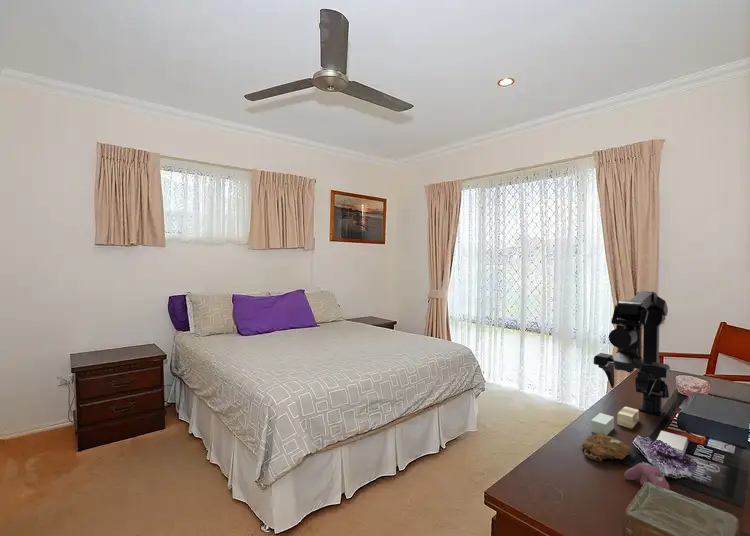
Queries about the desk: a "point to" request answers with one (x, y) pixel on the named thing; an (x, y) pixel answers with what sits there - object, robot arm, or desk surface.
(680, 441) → the white brick
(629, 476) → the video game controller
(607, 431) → the sage brick
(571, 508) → the desk surface
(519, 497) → the desk surface
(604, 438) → the decorative rock
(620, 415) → the birch brick
